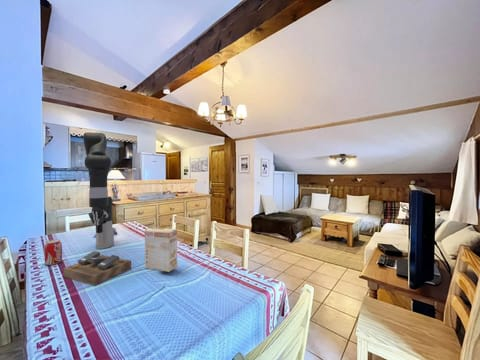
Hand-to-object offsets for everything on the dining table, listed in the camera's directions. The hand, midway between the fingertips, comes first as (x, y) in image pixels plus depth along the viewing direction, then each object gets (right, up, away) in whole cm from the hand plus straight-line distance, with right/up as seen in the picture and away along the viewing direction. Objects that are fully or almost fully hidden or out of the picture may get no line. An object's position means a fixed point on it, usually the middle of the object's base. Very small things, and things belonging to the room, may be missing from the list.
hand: (99, 232), depth 101 cm
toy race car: (-37, -20, +61) cm, 74 cm away
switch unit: (-1, -20, +1) cm, 20 cm away
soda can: (-33, -20, +12) cm, 40 cm away
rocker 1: (-7, -13, +4) cm, 16 cm away
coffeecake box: (+27, -20, +6) cm, 34 cm away
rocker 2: (-1, -13, +1) cm, 13 cm away
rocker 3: (+6, -13, -2) cm, 15 cm away
